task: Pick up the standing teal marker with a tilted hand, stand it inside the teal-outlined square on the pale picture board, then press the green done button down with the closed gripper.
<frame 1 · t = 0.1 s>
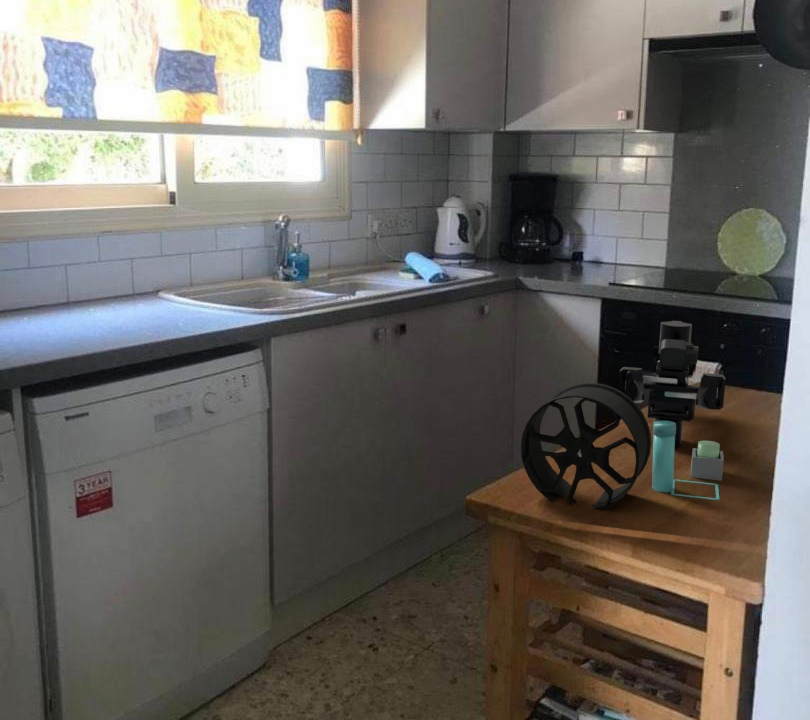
hand: (669, 399, 165), 17 cm above the table, tool horizontal, fingers open, 9 cm apart
button housing: (706, 474, 173), resting on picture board
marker: (662, 488, 166), point 1 cm above the table, touching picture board
done button: (707, 455, 173), point 5 cm above the table, slide at 0.0 cm
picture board: (685, 485, 170), on the table
car wheel rim: (582, 502, 162), on the table
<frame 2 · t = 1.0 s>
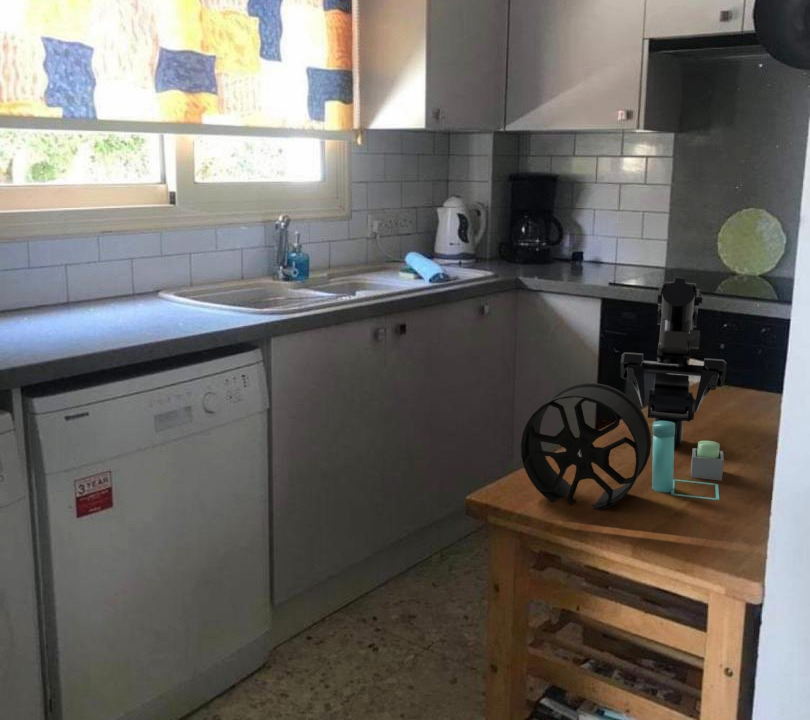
hand: (669, 408, 170), 14 cm above the table, tool tilted 45°, fingers open, 9 cm apart
nothing on the table moved.
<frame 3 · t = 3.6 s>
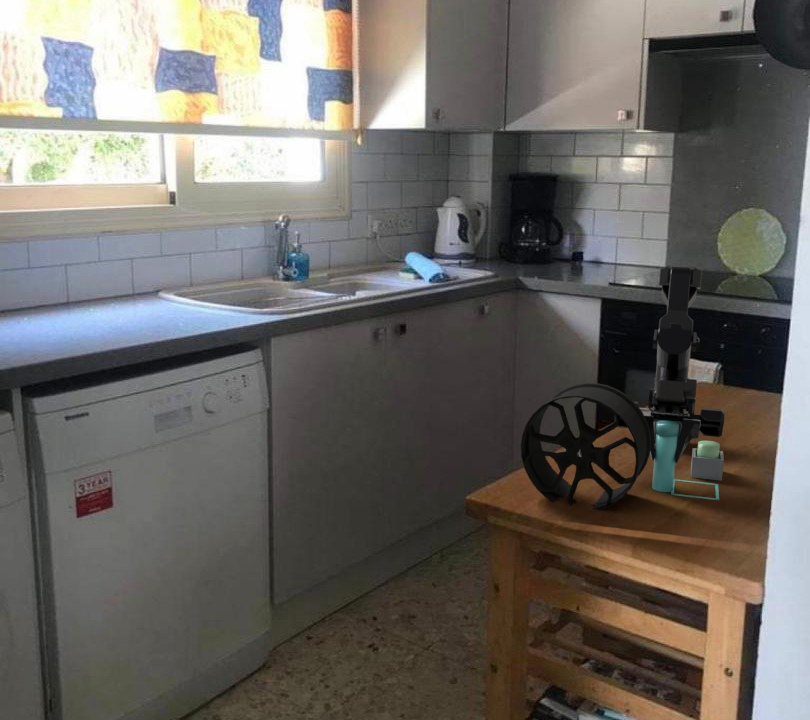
hand: (664, 460, 163), 7 cm above the table, tool tilted 45°, fingers closed on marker, 4 cm apart
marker: (662, 488, 166), point 1 cm above the table, touching gripper, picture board
everything else where it was.
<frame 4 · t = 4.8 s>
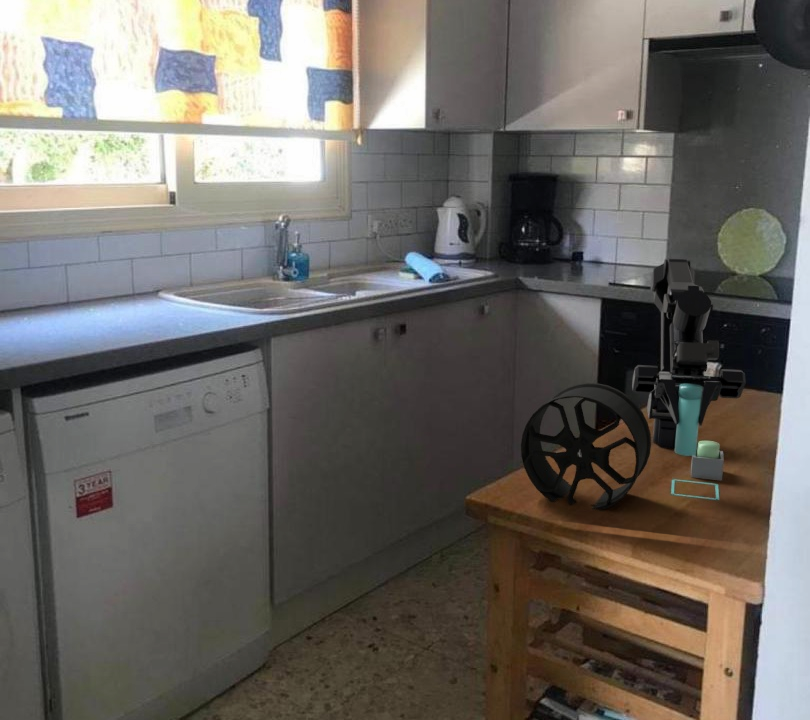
hand: (689, 423, 161), 13 cm above the table, tool tilted 45°, fingers closed on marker, 4 cm apart
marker: (685, 452, 164), point 8 cm above the table, touching gripper
everything else where it was.
when the fingers open (8 cm above the table, at t = 6.3 s): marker drops 1 cm, resting on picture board.
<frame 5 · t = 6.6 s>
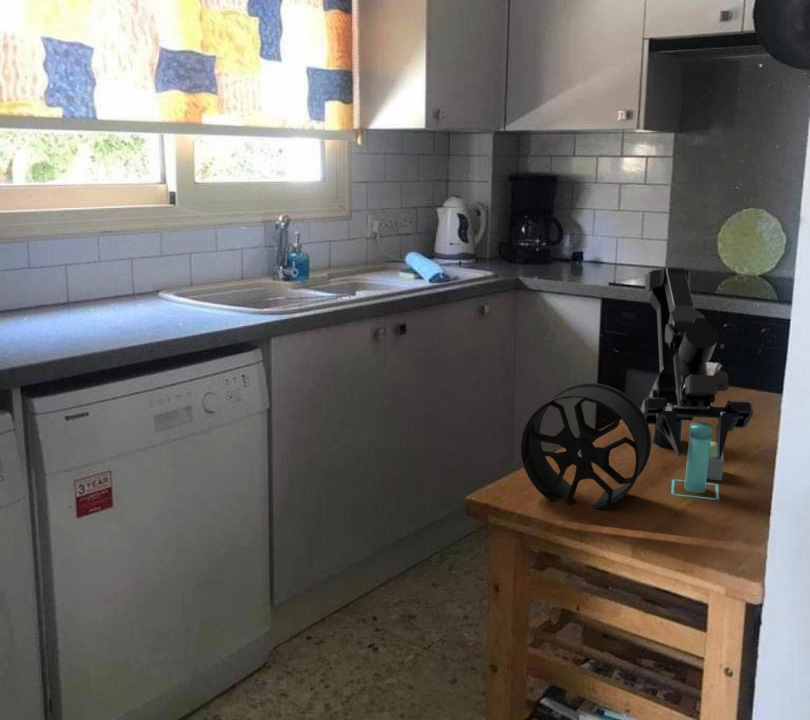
hand: (699, 455, 163), 8 cm above the table, tool tilted 45°, fingers open, 7 cm apart
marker: (694, 489, 166), point 1 cm above the table, touching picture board
everything else where it was.
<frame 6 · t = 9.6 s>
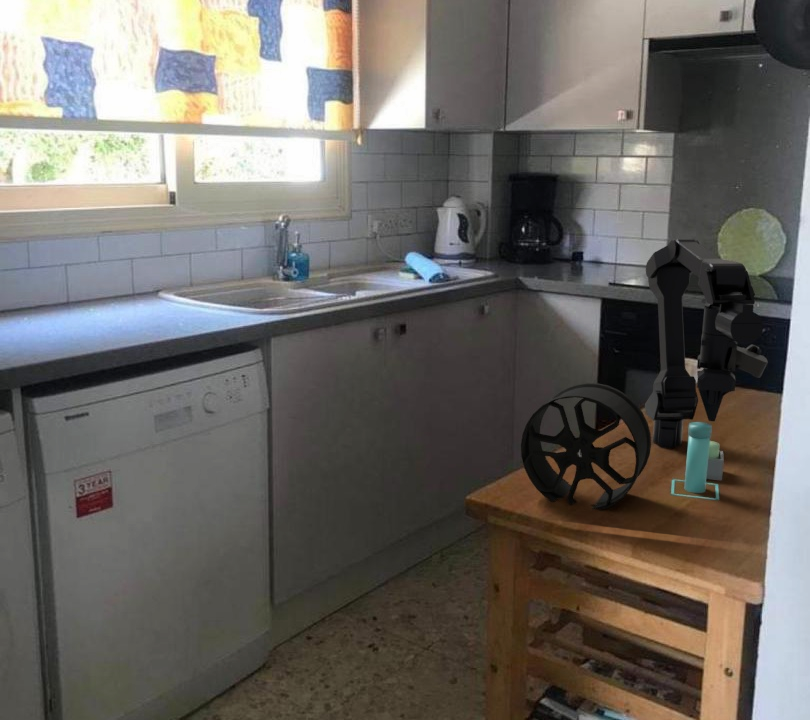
hand: (711, 416, 171), 12 cm above the table, tool pointing down, fingers open, 6 cm apart
nothing on the table moved.
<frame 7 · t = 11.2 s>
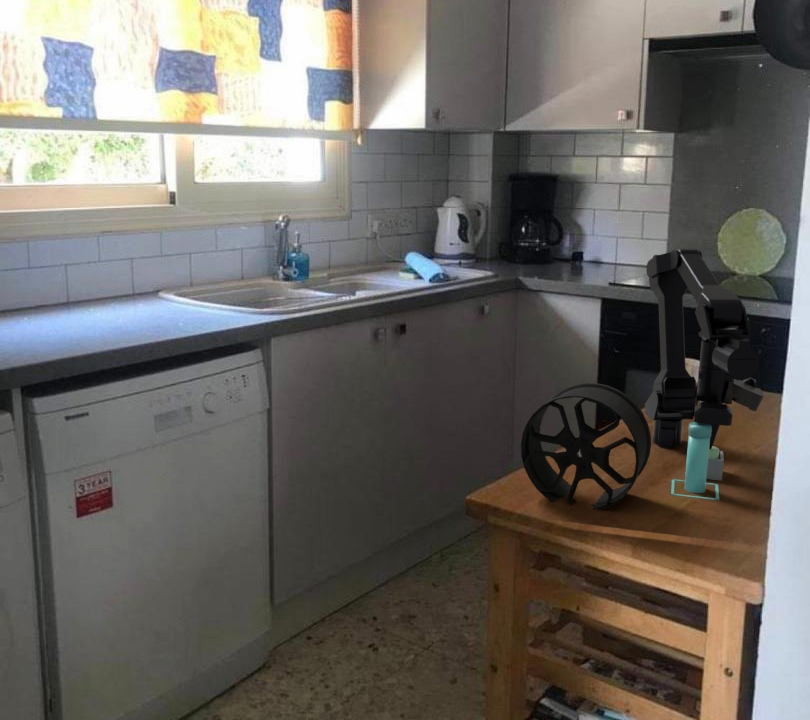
hand: (708, 448, 172), 6 cm above the table, tool pointing down, fingers closed, pressing on done button
done button: (707, 459, 173), point 4 cm above the table, slide at 0.9 cm, touching gripper
everything else where it was.
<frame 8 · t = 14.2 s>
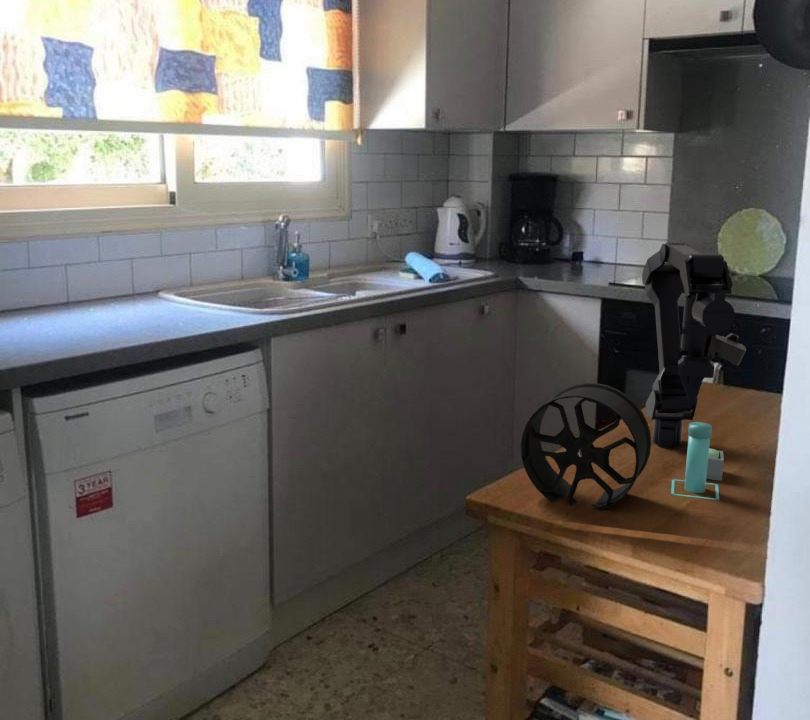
hand: (692, 403, 176), 13 cm above the table, tool pointing down, fingers closed
done button: (707, 462, 173), point 3 cm above the table, slide at 1.4 cm
everything else where it was.
at the end: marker inside the target area (0.0 cm from its centre), point 0.8 cm above the table; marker tilted 0°; done button slide at 1.4 cm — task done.
